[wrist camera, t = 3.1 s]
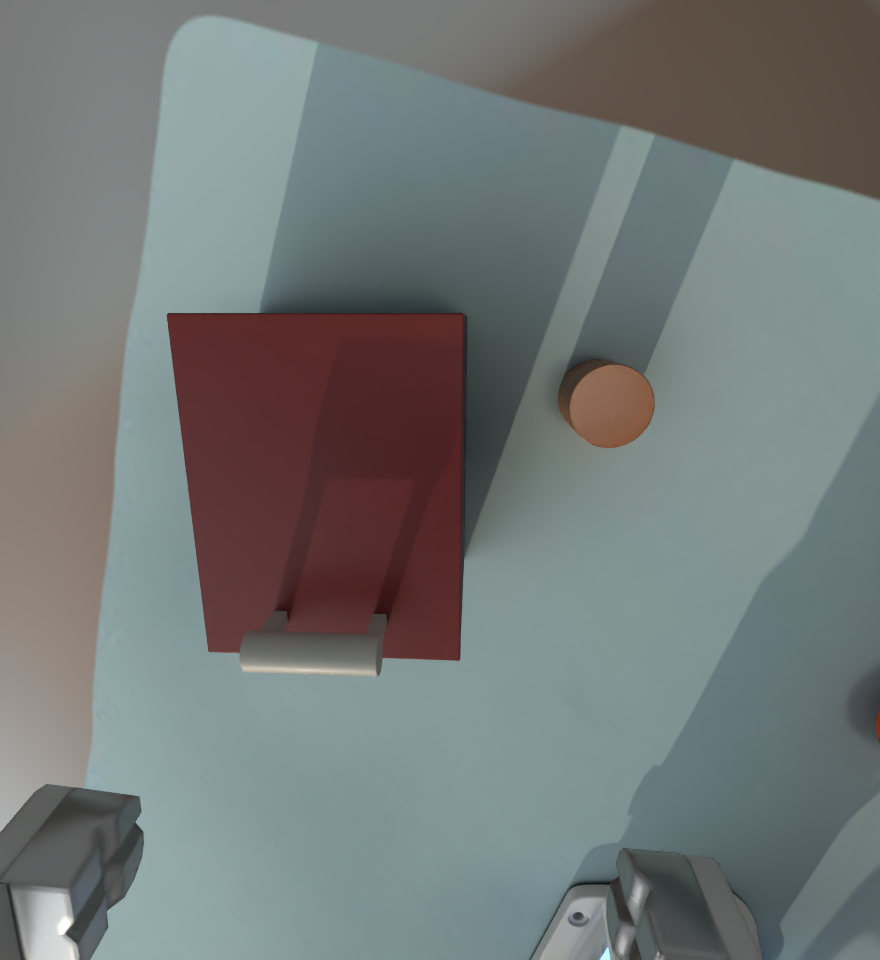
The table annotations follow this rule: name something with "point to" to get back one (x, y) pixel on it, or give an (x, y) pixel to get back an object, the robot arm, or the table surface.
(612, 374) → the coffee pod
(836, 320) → the table surface
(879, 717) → the clementine
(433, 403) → the lid
